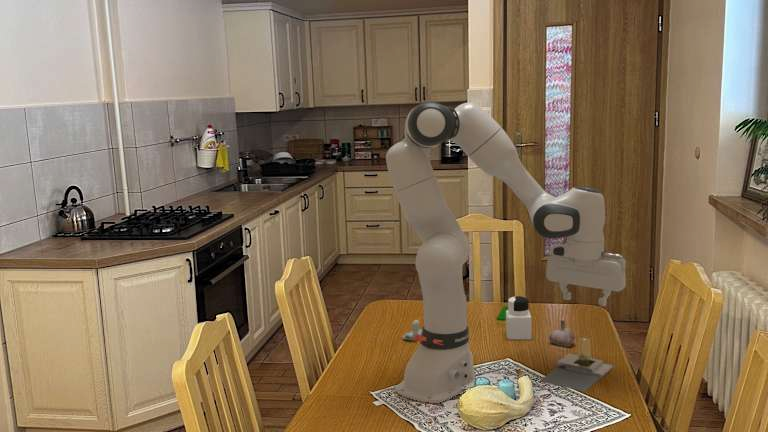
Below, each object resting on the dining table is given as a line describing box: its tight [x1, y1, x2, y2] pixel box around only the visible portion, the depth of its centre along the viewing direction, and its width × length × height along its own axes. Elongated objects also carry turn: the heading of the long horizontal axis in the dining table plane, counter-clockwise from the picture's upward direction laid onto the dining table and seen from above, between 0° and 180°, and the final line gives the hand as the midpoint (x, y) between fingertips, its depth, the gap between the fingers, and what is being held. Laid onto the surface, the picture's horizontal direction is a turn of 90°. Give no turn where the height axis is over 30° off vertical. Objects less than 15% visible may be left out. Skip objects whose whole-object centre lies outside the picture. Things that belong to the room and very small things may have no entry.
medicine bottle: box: [505, 295, 533, 341], centre depth 216 cm, size 7×7×12 cm
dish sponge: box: [495, 305, 508, 326], centre depth 234 cm, size 7×14×2 cm, turn 160°
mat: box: [539, 362, 616, 393], centre depth 183 cm, size 20×12×2 cm, turn 142°
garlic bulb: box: [548, 318, 576, 348], centre depth 208 cm, size 8×7×8 cm
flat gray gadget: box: [556, 353, 613, 378], centre depth 186 cm, size 7×12×2 cm, turn 52°
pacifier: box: [402, 319, 423, 341], centre depth 218 cm, size 7×6×6 cm
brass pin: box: [577, 336, 591, 366], centre depth 186 cm, size 3×3×8 cm
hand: (584, 302), depth 183 cm, fingers open, 8 cm apart
